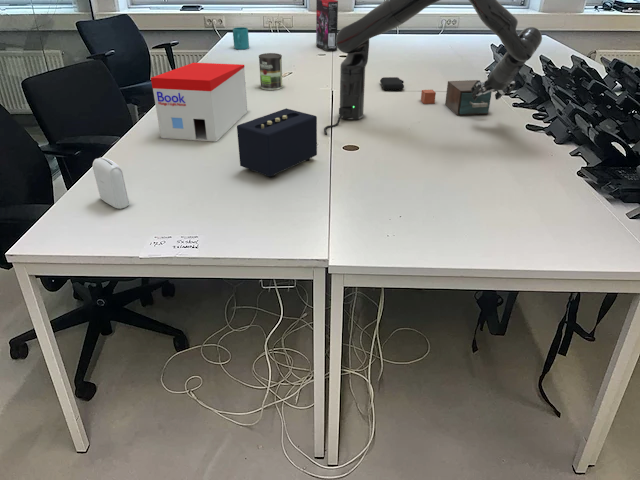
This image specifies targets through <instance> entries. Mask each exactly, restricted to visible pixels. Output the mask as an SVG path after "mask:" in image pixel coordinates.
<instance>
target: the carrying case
mask: <svg viewBox="0 0 640 480" xmlns="http://www.w3.org/2000/svg"><path fill="white" fill-rule="evenodd" d="M379 82H380V85H381V87H382V90H384V91H402V90H403V89H404V88H405V85H404V83H405V81H404V80H403V79H401V78H400V77H398V76H394V77H393V76H392V77H391V76H390V77H389V76H386V77H385V76H383V77H381V79H380V80H379Z"/></svg>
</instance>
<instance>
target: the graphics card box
mask: <svg viewBox="0 0 640 480" xmlns="http://www.w3.org/2000/svg"><path fill="white" fill-rule="evenodd" d="M315 2H316V4H315V5H316V7H315V8H316V12H315V14H316V17H315V20H316V21H315V22H316V23H315V25H316V28H315V29H316V31H315V32H316V33H315V35H316V36H315V46H316V48H319V49H322V50H324V51H326V52H332V51H338V48H337V46H336V37H337V34H338V24H339V23H338V22H339V21H338V17H339V15H338V14H339V0H315Z"/></svg>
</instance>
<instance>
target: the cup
mask: <svg viewBox="0 0 640 480" xmlns="http://www.w3.org/2000/svg"><path fill="white" fill-rule="evenodd" d="M232 37H233V39H232V40H233V48H234V49H235V50H241V51H242V50H248V49H249V48H250V40H249V39H250V38H249V28H248V27H245V26H237V27H233V28H232Z"/></svg>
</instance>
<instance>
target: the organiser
mask: <svg viewBox="0 0 640 480" xmlns="http://www.w3.org/2000/svg"><path fill="white" fill-rule="evenodd" d="M477 81H478V79H469V80H466V79H465V80H448V81H447V85H446V94H445V102H444V105H445V106H446V107H447V108H448V109H450V110H451V112H453V113H454V114H455V115H456V116H472V115H473V116H474V115H475V116H476V115H488V114H489V113H490V112H489V111H490V110H489V111H488V113H472V114H460V113H459V110H460V103H461V95H462V93H469V92H471V88H472V87H473V85H474V84H475V83H476V82H477ZM484 90H485V91H486V89H485V87H484ZM479 92H481V89H480V90H479ZM492 92H493V91H492ZM492 92H491V94H492Z"/></svg>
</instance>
